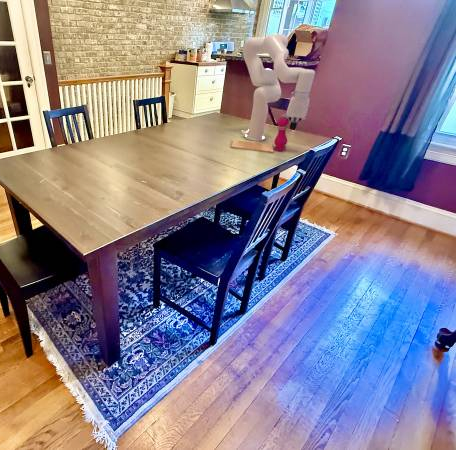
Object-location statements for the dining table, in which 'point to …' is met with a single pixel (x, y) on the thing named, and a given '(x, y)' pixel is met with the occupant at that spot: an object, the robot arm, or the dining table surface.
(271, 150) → the cork mat
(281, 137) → the pepper mill
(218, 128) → the dining table surface
